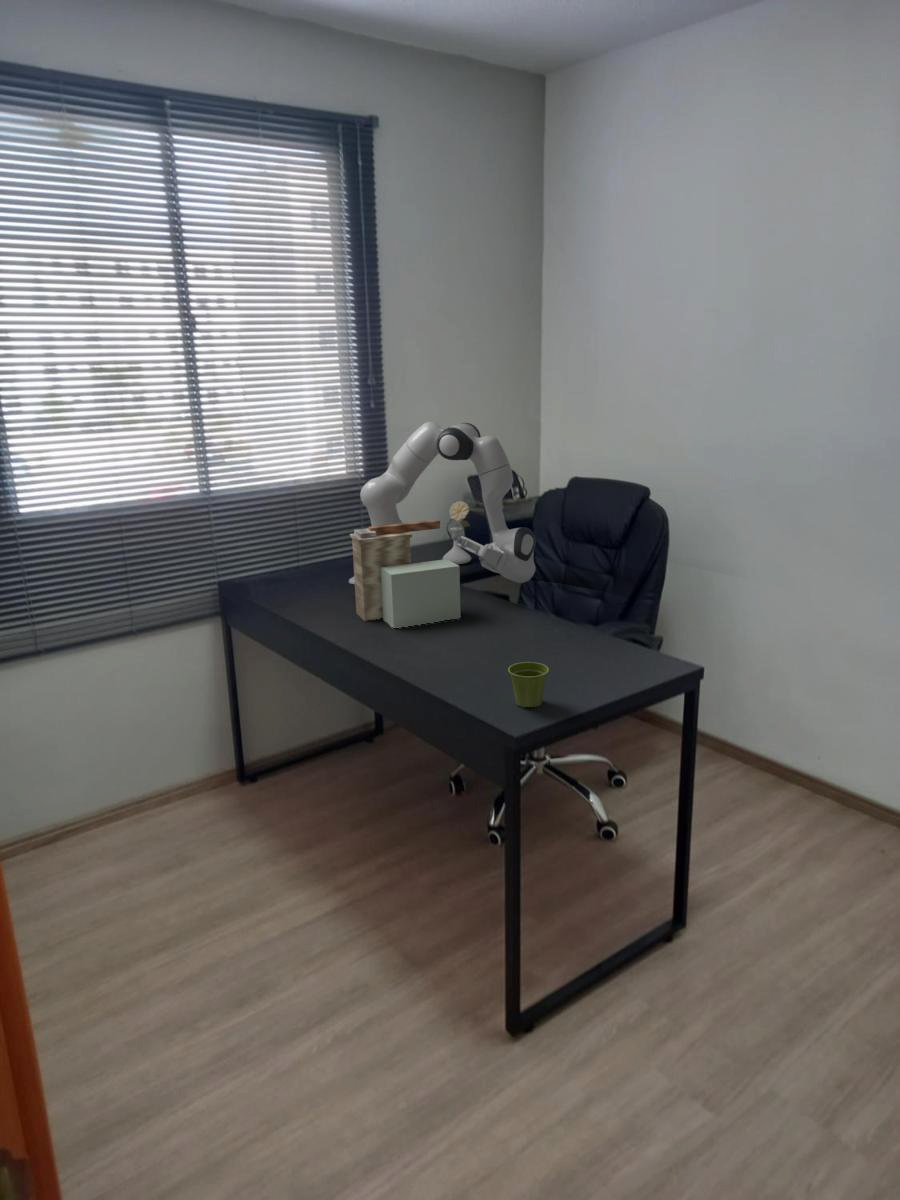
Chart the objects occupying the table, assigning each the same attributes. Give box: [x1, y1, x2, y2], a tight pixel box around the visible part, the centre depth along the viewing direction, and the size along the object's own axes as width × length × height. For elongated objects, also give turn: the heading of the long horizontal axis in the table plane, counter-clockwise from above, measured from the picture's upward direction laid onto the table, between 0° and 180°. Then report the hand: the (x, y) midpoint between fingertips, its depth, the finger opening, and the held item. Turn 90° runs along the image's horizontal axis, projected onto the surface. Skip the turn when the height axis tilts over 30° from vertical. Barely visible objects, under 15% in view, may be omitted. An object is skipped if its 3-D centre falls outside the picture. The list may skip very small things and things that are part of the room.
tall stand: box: [349, 532, 413, 622], centre depth 263 cm, size 17×10×26 cm, turn 113°
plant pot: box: [507, 661, 550, 708], centre depth 195 cm, size 9×9×9 cm
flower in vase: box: [441, 500, 472, 565], centre depth 324 cm, size 13×11×25 cm
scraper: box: [353, 519, 441, 539], centre depth 261 cm, size 27×7×2 cm, turn 113°
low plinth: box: [381, 559, 462, 629], centre depth 257 cm, size 22×10×17 cm, turn 113°
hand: (459, 539), depth 270 cm, fingers open, 8 cm apart
